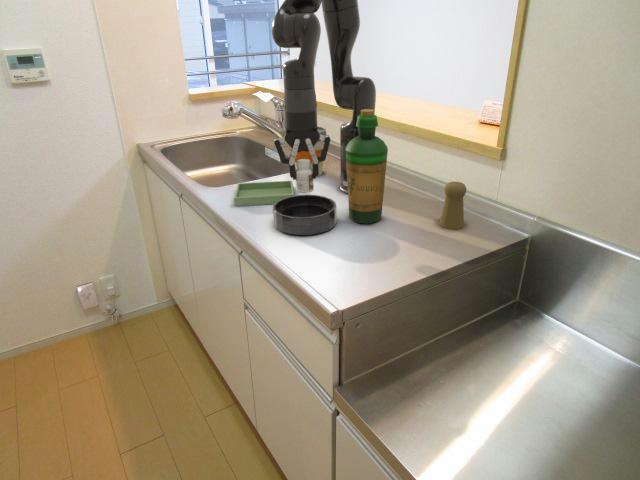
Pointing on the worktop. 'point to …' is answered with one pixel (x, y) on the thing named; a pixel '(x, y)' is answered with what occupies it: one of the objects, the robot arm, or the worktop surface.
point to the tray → (262, 192)
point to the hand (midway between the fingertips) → (304, 177)
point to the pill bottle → (304, 176)
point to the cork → (453, 206)
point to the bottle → (366, 170)
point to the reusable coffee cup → (317, 150)
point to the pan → (304, 214)
